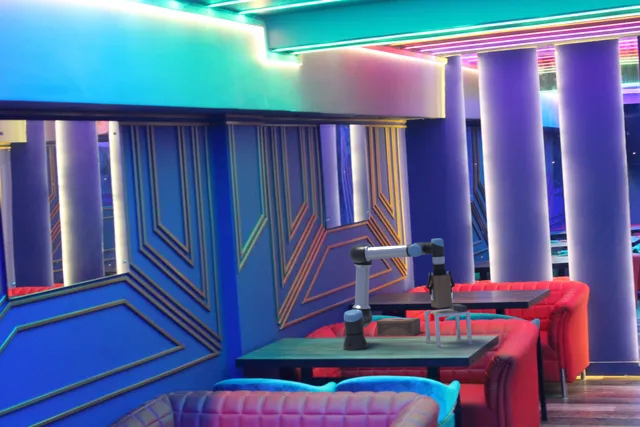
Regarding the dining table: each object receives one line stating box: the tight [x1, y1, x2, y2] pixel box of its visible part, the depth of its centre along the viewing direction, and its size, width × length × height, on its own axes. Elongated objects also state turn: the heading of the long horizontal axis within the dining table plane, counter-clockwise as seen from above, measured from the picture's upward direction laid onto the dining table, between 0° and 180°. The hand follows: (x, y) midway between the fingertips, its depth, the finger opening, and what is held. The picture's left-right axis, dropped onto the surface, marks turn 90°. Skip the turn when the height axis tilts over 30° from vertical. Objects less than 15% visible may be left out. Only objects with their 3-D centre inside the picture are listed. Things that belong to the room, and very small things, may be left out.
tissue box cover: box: [376, 317, 422, 337], centre depth 645 cm, size 26×14×10 cm, turn 63°
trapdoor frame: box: [423, 308, 473, 349], centre depth 590 cm, size 22×22×20 cm
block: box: [430, 273, 453, 309], centre depth 589 cm, size 10×10×20 cm
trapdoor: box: [428, 303, 468, 316], centre depth 590 cm, size 17×19×4 cm
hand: (441, 299), depth 589 cm, fingers closed on block, 11 cm apart
